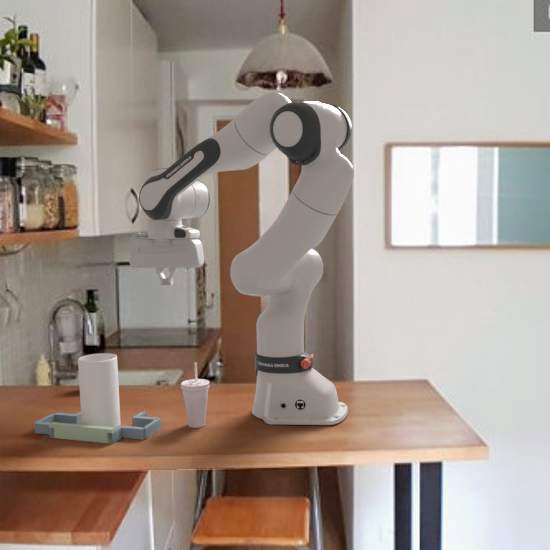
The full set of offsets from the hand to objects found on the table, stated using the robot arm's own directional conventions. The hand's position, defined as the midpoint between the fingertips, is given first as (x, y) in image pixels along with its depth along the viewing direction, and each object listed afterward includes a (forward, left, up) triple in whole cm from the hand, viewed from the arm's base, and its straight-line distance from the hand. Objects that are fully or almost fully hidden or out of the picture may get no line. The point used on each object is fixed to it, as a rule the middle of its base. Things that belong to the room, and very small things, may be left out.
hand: (167, 285), depth 149 cm
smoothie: (-17, +21, -29) cm, 40 cm away
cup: (+3, +28, -29) cm, 40 cm away
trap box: (+3, +28, -29) cm, 40 cm away
